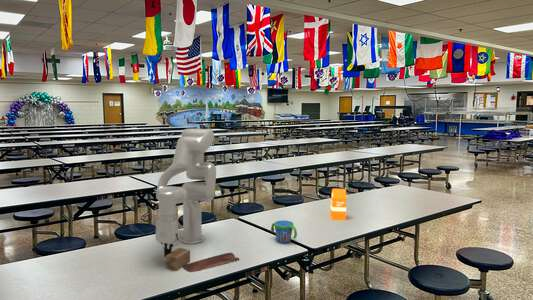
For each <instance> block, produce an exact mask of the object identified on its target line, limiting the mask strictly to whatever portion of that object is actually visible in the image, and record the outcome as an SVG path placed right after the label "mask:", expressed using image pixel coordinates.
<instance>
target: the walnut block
mask: <svg viewBox="0 0 533 300" xmlns="http://www.w3.org/2000/svg"><path fill="white" fill-rule="evenodd" d="M189 263H191V250H190V249H188V248H183V247H178V248H177V249H175V250H173V251H172V252H171V253H169V254H168V255H166V257H165V269H167V270H171V271H176V272H177V271H179V270H180V269H183V268H182V267H183V266H184V265H186V264H189Z"/></svg>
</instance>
